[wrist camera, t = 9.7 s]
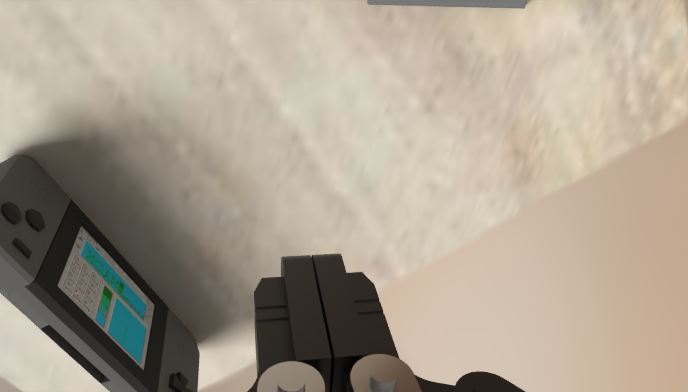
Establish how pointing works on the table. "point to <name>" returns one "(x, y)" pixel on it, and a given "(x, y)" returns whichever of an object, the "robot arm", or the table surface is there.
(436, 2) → the mat
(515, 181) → the table surface
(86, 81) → the table surface
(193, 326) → the table surface
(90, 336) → the handheld gaming console
